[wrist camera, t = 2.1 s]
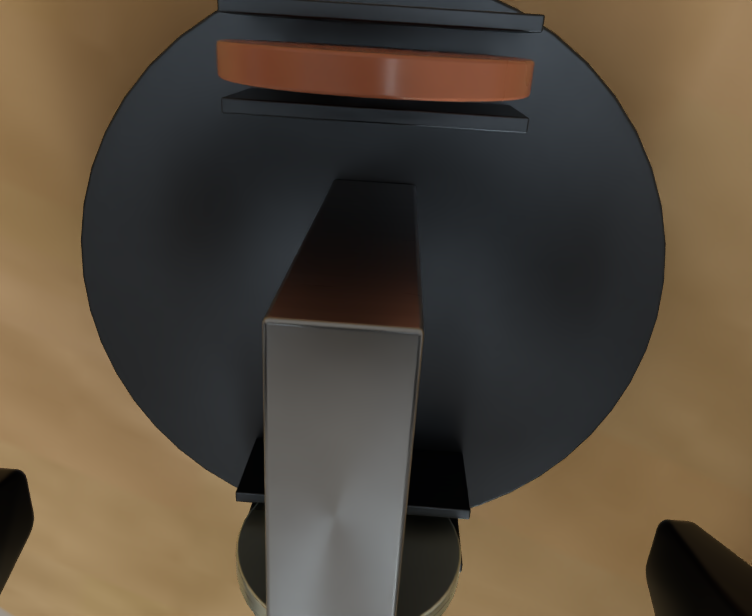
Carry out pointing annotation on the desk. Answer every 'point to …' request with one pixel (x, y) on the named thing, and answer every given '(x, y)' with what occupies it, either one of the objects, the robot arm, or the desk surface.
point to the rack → (371, 277)
